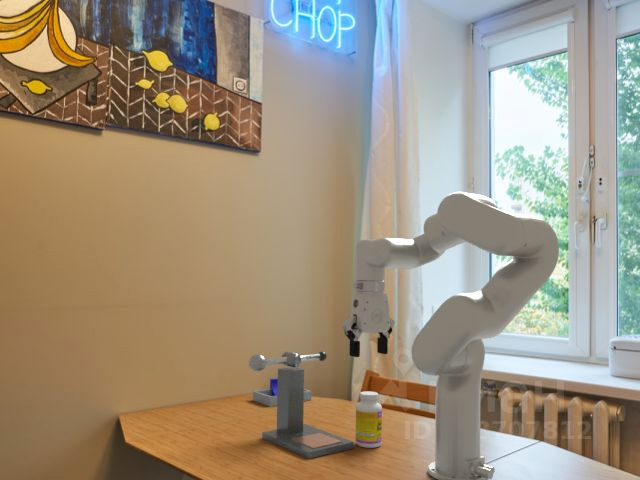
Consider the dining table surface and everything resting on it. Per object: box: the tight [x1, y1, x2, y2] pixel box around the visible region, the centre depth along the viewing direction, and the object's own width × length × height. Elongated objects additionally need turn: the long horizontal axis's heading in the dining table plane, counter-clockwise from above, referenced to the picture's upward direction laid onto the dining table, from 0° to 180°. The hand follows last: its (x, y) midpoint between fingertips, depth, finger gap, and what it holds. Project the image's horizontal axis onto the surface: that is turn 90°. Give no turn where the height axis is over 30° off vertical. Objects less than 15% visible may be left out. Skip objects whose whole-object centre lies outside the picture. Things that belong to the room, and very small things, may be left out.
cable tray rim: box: [252, 388, 312, 408], centre depth 191 cm, size 11×17×3 cm, turn 128°
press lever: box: [248, 351, 328, 373], centre depth 150 cm, size 4×24×4 cm, turn 128°
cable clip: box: [269, 378, 278, 396], centre depth 191 cm, size 12×4×6 cm, turn 25°
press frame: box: [261, 366, 355, 459], centre depth 144 cm, size 20×14×18 cm
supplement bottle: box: [354, 390, 383, 449], centre depth 144 cm, size 7×7×13 cm
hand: (368, 354), depth 145 cm, fingers open, 9 cm apart
